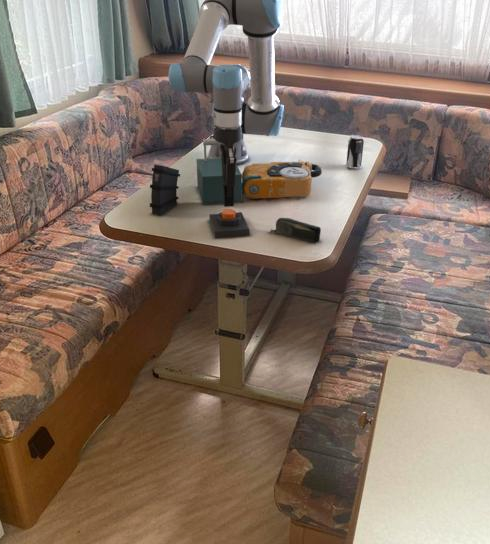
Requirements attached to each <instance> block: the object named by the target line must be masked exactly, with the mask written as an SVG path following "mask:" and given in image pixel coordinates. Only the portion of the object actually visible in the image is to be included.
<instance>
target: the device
mask: <svg viewBox="0 0 490 544" xmlns="http://www.w3.org/2000/svg"><path fill="white" fill-rule="evenodd" d="M322 172H323V169H322V168H321V166H320V165H318V164H315V163H312V162H310V161H305V162H304V161H303V159H298V161H271V162H268V163H252V164H250V165H245V166H244V167H243V171H242V172H241V174H242V195H244V196H245V197H246V198H248V199H250V200H255V199H256V200H259V199H271V198H272V199H273V198H274V199H276V198H289V197H290V198H299V197H307V196H310V195H311V194H312V181H313V180H312V178H317V177H320V176H321V175H322Z"/></svg>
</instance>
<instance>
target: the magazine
mask: <svg viewBox="0 0 490 544" xmlns="http://www.w3.org/2000/svg"><path fill="white" fill-rule="evenodd" d="M151 171H152V177H151V179H152V180H151V184H150V185H149V188H150V189H151V195H150V197H151V199H150V200H151V202H150V203H149V208H151V215H154V216H160V217H161V216H162V215H164V214H165V213H166V212H168V211H169V210H171V209H172V208H173V207H175V206H176V205H177V204H178V200H179V196H177V195H178V194H177V192H178V191H177V190H178V189H179V188H180V186H178V179H179V178H180V177H181V173H180V169H177V168H173V167H169V166H165V165H161V164H154V165H153V167H152V168H151Z"/></svg>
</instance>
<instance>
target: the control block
mask: <svg viewBox="0 0 490 544" xmlns="http://www.w3.org/2000/svg"><path fill="white" fill-rule="evenodd" d="M235 212H236V217H235V218H234V219H224V218H222V211H221V212H219V213H209V215H208V217H209V219H208V220H209V223H210V224H209V225H210V227H211V230H212V233H213V235H214V239H223V238H236V237H237V238H238V237H248V236H250V228H249V226H248V223H247V221H246V219H245V216H244V214H243V212H242V211H238V212H237V211H235Z"/></svg>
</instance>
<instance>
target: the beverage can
mask: <svg viewBox="0 0 490 544" xmlns="http://www.w3.org/2000/svg"><path fill="white" fill-rule="evenodd" d="M364 142H365V140H364V138H363V136H362V135H360V134H351V135H350V137H349V139H348V142H347V152H346V161H345V165H346V167H348V168H349V169H353V170H355V169H356V170H357V169H360V168H361V167H362V162H363V153H364V145H365V144H364Z"/></svg>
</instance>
